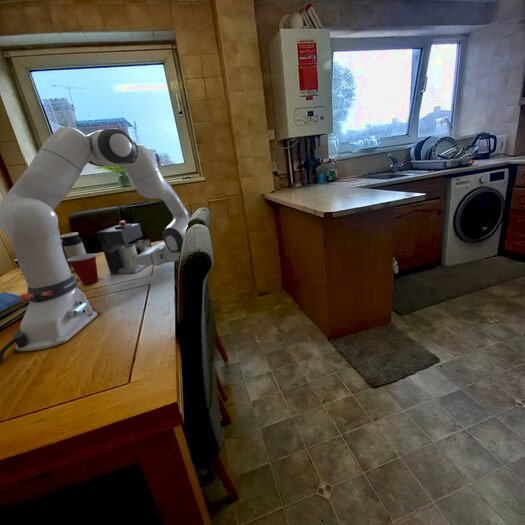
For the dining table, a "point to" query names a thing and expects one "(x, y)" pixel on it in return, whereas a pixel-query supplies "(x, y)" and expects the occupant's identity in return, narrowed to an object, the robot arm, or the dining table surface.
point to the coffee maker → (119, 246)
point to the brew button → (122, 223)
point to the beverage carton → (142, 245)
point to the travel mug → (72, 245)
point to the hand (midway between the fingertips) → (139, 253)
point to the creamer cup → (129, 255)
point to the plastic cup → (85, 267)
